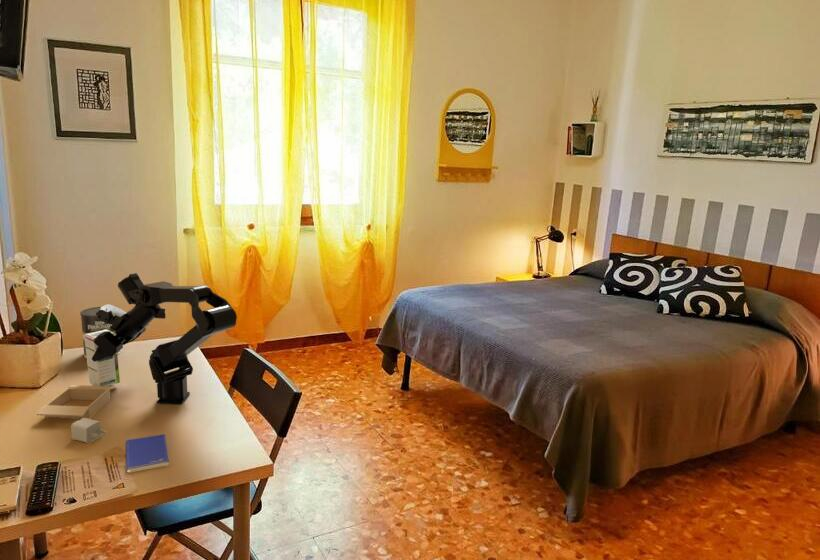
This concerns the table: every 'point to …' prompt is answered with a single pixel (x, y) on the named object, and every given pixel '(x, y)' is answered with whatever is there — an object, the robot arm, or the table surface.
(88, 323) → the coffee can
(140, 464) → the hard drive
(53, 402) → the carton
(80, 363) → the table surface
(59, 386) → the table surface
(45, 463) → the table surface
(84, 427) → the usb wall charger
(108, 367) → the syrup box
